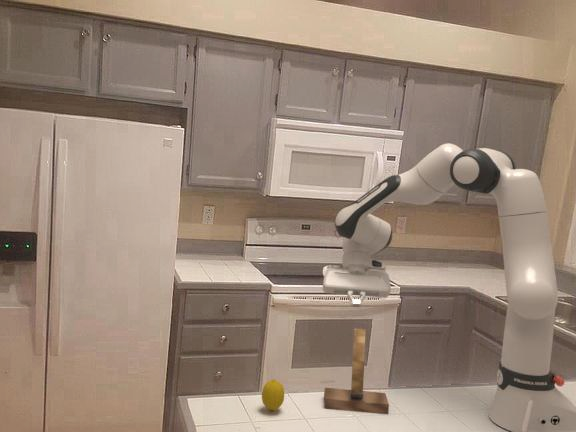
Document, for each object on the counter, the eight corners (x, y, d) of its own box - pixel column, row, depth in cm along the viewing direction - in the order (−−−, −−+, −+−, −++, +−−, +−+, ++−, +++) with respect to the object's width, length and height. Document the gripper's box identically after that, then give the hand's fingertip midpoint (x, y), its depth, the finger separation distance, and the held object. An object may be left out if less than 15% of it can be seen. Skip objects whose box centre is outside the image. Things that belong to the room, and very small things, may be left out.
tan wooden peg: (362, 397, 134) (364, 330, 139) (363, 398, 131) (366, 329, 136) (350, 396, 134) (353, 329, 139) (351, 397, 131) (354, 328, 136)
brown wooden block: (384, 402, 138) (385, 392, 138) (388, 414, 131) (389, 403, 131) (324, 396, 139) (324, 386, 139) (324, 408, 132) (325, 398, 132)
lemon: (280, 417, 126) (282, 385, 125) (258, 414, 127) (260, 381, 126) (285, 407, 131) (287, 376, 130) (263, 404, 132) (265, 373, 131)
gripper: (323, 258, 160) (321, 297, 151) (390, 263, 159) (392, 303, 150) (322, 270, 165) (320, 308, 156) (387, 275, 164) (389, 314, 155)
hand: (356, 306), depth 153 cm, fingers closed
